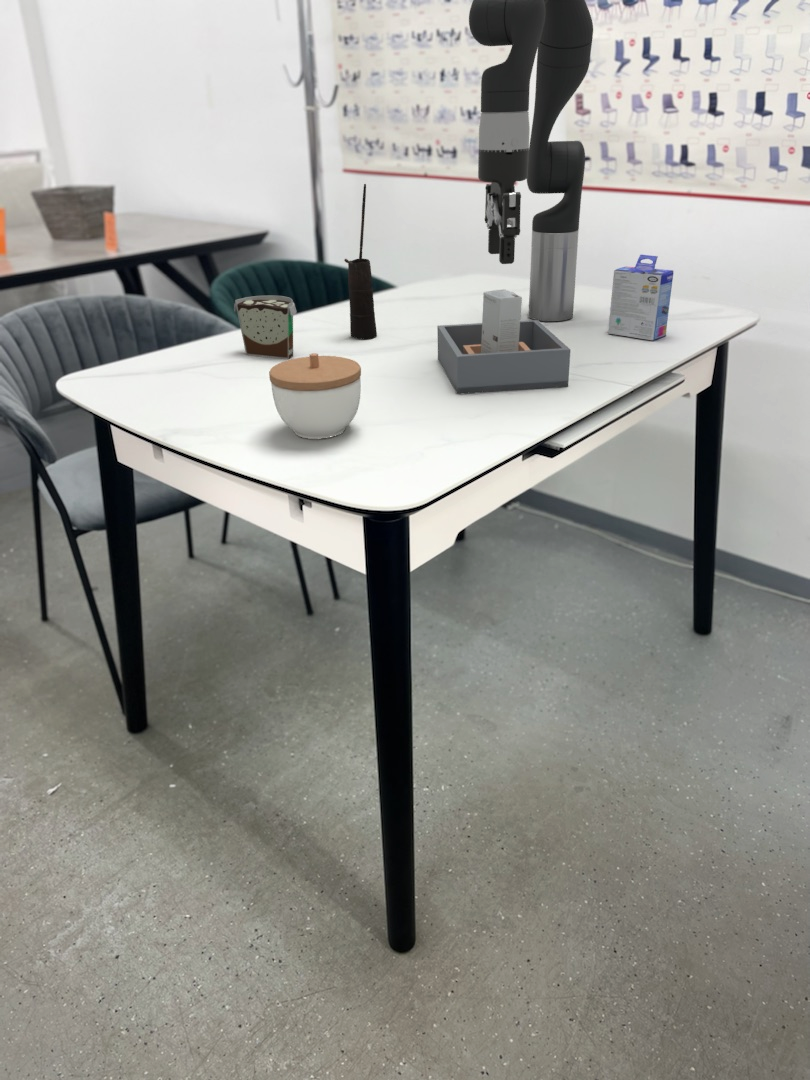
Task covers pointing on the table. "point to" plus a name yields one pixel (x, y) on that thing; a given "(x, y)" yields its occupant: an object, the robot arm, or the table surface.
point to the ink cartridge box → (640, 300)
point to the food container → (267, 325)
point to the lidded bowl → (316, 394)
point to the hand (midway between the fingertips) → (500, 258)
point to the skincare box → (500, 321)
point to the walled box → (503, 359)
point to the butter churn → (361, 292)
